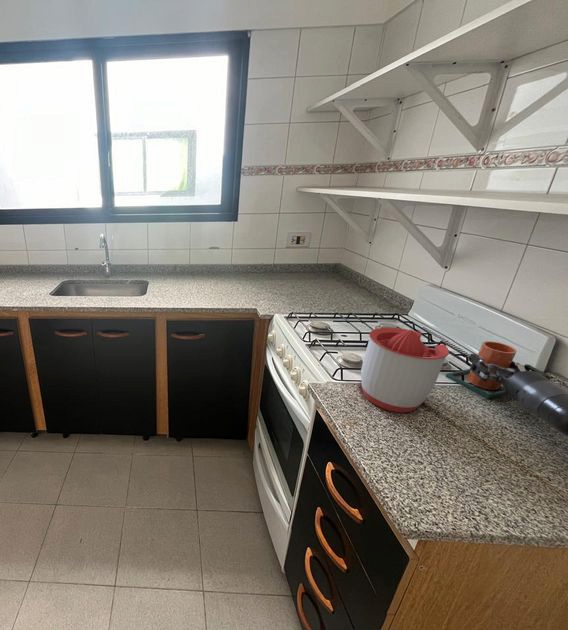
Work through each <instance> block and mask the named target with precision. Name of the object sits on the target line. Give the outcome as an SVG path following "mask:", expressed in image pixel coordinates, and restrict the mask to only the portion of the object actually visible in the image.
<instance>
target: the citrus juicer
mask: <svg viewBox="0 0 568 630" xmlns="http://www.w3.org/2000/svg"><path fill="white" fill-rule="evenodd" d="M422 335H423V334H422V332H419V331H415V330H413V329H406V328H400V327H377V328H375V329H372V330H371V331H369V339H368V343H367V346H366V350H365V353H364V357H363V360H362V365H361V369H360V370H361V372H360V378H361V379H360V380H361V383H360V385H361V391H362V394H363V396H364V397H365V398H366V399H367V400H368V401H369V402H371V404H373V405H375V406H377V407H379V408H382V409H384V410H386V411H388V412H394V413H403V414H404V413H410V412H413V411H415V410H416V409H418V408H419V407H420V406H422V404H423V402H425V400H426V399H427V398H428V397H429V395H430V394H431V392H433V390H434V387H435V385H436V383H437V381H438V377H439V375H440V373H441V370H442V367H443V365H444V363H445V360H446V357H448V356H449V354H450V349H449V348H448V347H447V346H446V345H445V344H444V343H442V344H438V345H435V346H434V348H429V347H428V346H426V345H425V344H423V342H422V340H421V339H422V338H421V337H422Z"/></svg>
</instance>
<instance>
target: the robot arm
mask: <svg viewBox="0 0 568 630" xmlns="http://www.w3.org/2000/svg"><path fill="white" fill-rule="evenodd" d="M477 355H478V354H476V353H470V355H469V356H468V358H467V360H468V362H469V363H471V365H470V367H469V369H470V370H471V371H472V372H473V373H474V374H475V375H476V376H477V377H478V378H480V379H481V380H482V381H487V380H488V379H494V380H495V381H497V382H499V383H501V385H502V386H503V390H505V391H506V393H507V394H508V395H507V396H509V397H511V398H512V399H513V400H514V401H516V402H517V403H518V404H519V405H520V406H522V407H524V408H525V409H526V410H528V411H529V412H530V413H532V414H533V415H535V416H537V417H538V418H539V419H541V420H542V421H544V422H545V423H547V424H548V425H549V426H551V427H552V428H553V429H554V430H556V431H557V432H559V433H561V434H562V435H564V436H566V437H568V390H567V389H566V388H563V387H561V386H560V385H559V384H557V383H556V382H554V381H552V380H551V379H552V377H551V376H550V375H549V374H547V373H545V372H543V371H541V370H540V369H538V368H536V367H534V366H532V364H531V365H530V364H528V363H525V364H524V365H522V363H521V362H517V361H516V362H515V361H514V360H512V363H511V365H510V367H509V368H505V367H503V366H500V365H498V364H496V363H492V364H491V363H488V362H486V361H484V360H483V359H482V358H480V357H479V356H477ZM484 365H486V366H488V369H486V368H485V367H484ZM494 368H497V369H496V371H495V374H493V370H494Z"/></svg>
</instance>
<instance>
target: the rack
mask: <svg viewBox="0 0 568 630" xmlns="http://www.w3.org/2000/svg"><path fill="white" fill-rule="evenodd" d="M470 371H471V370H470V368H467V369H463V370H458V371H452V372H448V373H446V374H445V378H446V379H448V380H450V381H453V382H454V383H457V384H458V385H460V386H461V387H464V388H466V389H467V390H469V391H471V392H473V393H475V394H477V395H479V396H481V397H483V398H484V399H486V400H491V399H495V398H500V397H503V396H509V395H508V394H507V393H506V391H505V389H503V390H498V391H494V392H490V393H488V392H485V391H483V390H482V389H480V388H479V387H477V386H475V385H473V384H471V383H468V382H467V381H464V380H462V378H461V379H460V378H459V377H460V376H464V375H469V373H470Z"/></svg>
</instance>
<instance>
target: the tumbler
mask: <svg viewBox="0 0 568 630" xmlns="http://www.w3.org/2000/svg"><path fill="white" fill-rule="evenodd" d="M517 351H518V350H517V349H516V348H514V347H512V346H511V345H508V344H506V343H503V342H498V341H493V340H492V341H491V340H490V341H488V340H486V341H483V342H482V343H481V346H480V347H479V350H478V353H477V354H476V355H477V356H479V357H480V358H482V359H483V360H484V361H486V362H488V363H491V364H492V363H496V364H498V365H500V366H503V367H505V368H509V367H510V365H511V363H512V361H514V358H515V357H516V354H517ZM484 367H485V368H486V369H488V366H486V365H484ZM496 369H497V368H494V370H493V374H495V371H496ZM467 381H468V382H469V383H470V384H471V385H473V386H475V387H477V388H482V389H484V390H489V391H497V390H499V389H500V387H501V385H502V384H501V383H499V382H497V381H495V380H494V379H488V380H487V381H482V380H481V379H480V378H478V377H477V376H476V375H475V374H474V373H473V372H472V371H470V373H469V374H468V376H467Z"/></svg>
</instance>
